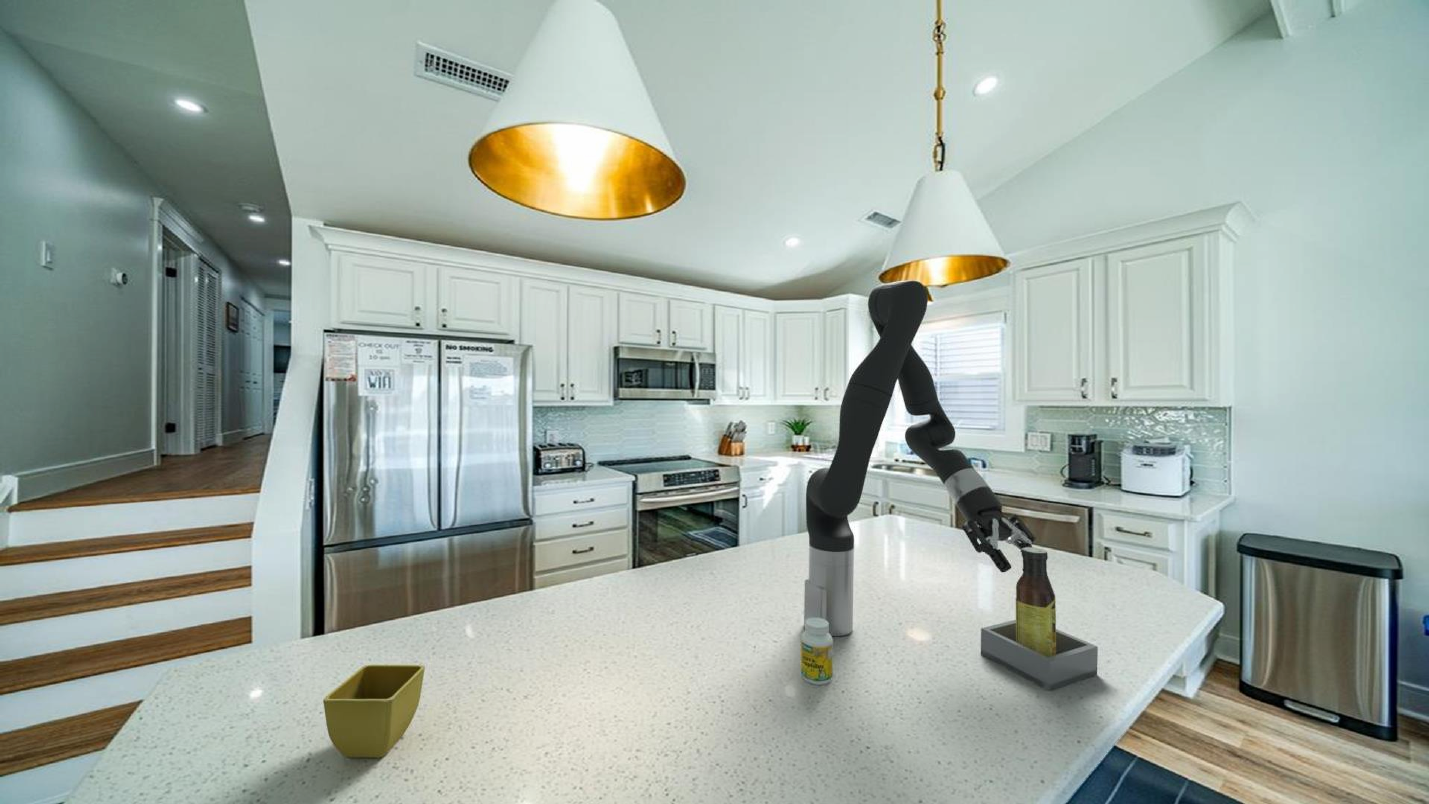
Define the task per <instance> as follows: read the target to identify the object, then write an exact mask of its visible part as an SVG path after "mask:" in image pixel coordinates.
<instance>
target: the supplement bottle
mask: <svg viewBox="0 0 1429 804" xmlns="http://www.w3.org/2000/svg"><path fill="white" fill-rule="evenodd" d="M804 629H805V630H804V631H803V632H802V634H801V637H800V641H801V642H800V643H801V645H800V646H801V649H800V655H801V656H800V674H801V675H800V676H801V677H802V679H803V680H804V681H806V682H807V683H809V684H812V685H816V686H817V685H818V686H819V685H820V686H823V685H827V684H829V683H830V682H832V680H833V677H834V676H833V673H834V671H833V670H834V667H833V666H834V665H833V661H834V660H833V659H834V658H833V656H834V655H833V652H834V640H833V636H831V635H830V634H829V633H828V631H829V623H828V621H826V620H824V619H822V618H808V619H807V620H806V621H805V624H804Z"/></svg>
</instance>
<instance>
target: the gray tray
mask: <svg viewBox="0 0 1429 804" xmlns="http://www.w3.org/2000/svg"><path fill="white" fill-rule="evenodd" d="M1098 649H1099V648H1098V645H1095V644H1092V643H1090V642H1088V641H1086V640H1083V639H1080V638H1078V637H1077V636H1073V635H1071V634H1069V633H1066V632H1065V631H1064V632H1063V631H1062V630H1059V629H1057V628H1056V654H1055V655H1054V656H1050V657H1046V656H1044V655H1042V654H1040V653H1038V652H1036V651H1034V650H1032V649H1029V648H1027V647H1025V646H1023V645H1021V644H1019V643H1017V642H1016V619H1013V620H1008V621H1005V622H1001V623H996V624H993V625H988V626H985V627H980V655H981V656H983V657H984V658H986V659H988V660H990V661H993V662H994V663H996V664H998V665H1000V666H1001V667H1003V668H1005V669H1007V670H1008V671H1011V672H1013V673H1015V674H1017V675H1018V676H1020V677H1022V678H1024V679H1026V680H1027V681H1030V682H1032V683H1033V684H1035V685H1037V686H1039V687H1041V688H1042V689H1045V690H1047V691H1049V692H1050V691H1053V690H1057V689H1059V688H1063V687H1065V686H1067V685H1070V684H1071V685H1072V684H1075V683H1077V682H1080V681H1083V680H1085V679H1088V678H1091V677H1094V676H1098V657H1099V656H1098V655H1099V654H1098V653H1099V652H1098Z"/></svg>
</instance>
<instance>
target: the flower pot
mask: <svg viewBox="0 0 1429 804" xmlns="http://www.w3.org/2000/svg"><path fill="white" fill-rule="evenodd" d="M425 668H426V665H424V664H423V665H421V664H366V665H363V666H362V667H361V668H359V669H358V670H356V671H355V673H353V674H352V675H351V676H349V678H347V679H346V680H344V681H343V682H342V683H341V684H340V685H338V686H337V687H336V688H334V689H333V690H332V691H331V692H330V693H328V694H327V695H326V696H325V697H324V698H323V700H322V701H323V703H322V704H323V710H324V715H325V716H324V717H325V722H326V730H327V733H328V734H327V735H328V736H329V737H328V738H329V739H330V741H331V743H332V745H333V747H335V749H336V750H337V751H338V752H339V753H340V754H342V756H343V757H346V758H384V757H385V756H387V754H388V753H389V752H390V750H392V748H393V747H394V746H395V745H396V743H398V741H399V740H400V739H401V738H402V737H403V736H404V735H405V733H406V731H407V729H408V728H409V726H410V724H411V723H412V720H413V719H414V716H415V714H416V712H417V709H418V707H419V703H420V699H421V693H422V688H423V681H424V675H425Z"/></svg>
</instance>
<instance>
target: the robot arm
mask: <svg viewBox="0 0 1429 804" xmlns="http://www.w3.org/2000/svg"><path fill="white" fill-rule="evenodd" d="M928 301H929V298H928V292H927V288H926V287H925V285H924V284H923V283H922V282H920V281H918V280H911V279H910V280H900V281H893V282H887V283H882V284H879V285H876V286H875V287H874V289H872V290H871V292H870V294H869V296H868V300H867V308H868V313H869V316H870V318H871V321H872V323H873V325H874V328H875V330H876V332H877V333H878V335H879V340H878V341H877V343H876V344H875V346H874V347H873V348H872V349H871V351H870V352H869V353H868V354H867V356H866V357H864V358H863V360H862V361H861V362H860V364H858V366H857V367H856V368H855V370H854V371H853V373H852V374H851V377H850V378H849V380H848V383H847V386H846V387H845V388H846V389H845V391H844V395H843V397H842V400H841V405H840V411H839V428H838V430H839V431H838V434H839V435H838V441H837V446H836V451H835V452H834V456H833V458H832V461H831V464H830V465H829V467H822V468H819V469H817V470H815V471H814V472H813V473H812V474H811V475H810V476H809V479H808V481H807V484H806V489H805V490H806V491H805V513H806V514H805V515H806V517H805V518H806V519H805V520H806V523H805V524H806V530H807V533H808V539H809V540H808V542H809V543H808V545H809V547H808V579H805V580H804V603H803V604H804V605H803V606H804V607H803V609H804V610H803V611H804V612H803V614H804V615H803V623H804V625H805V621H806V620H807V619H808V618H822V619H824V620H826V621H828V623H829V631H828V633H829V634H830V635H831V636H832V637H842V636H846V635H849V634H851V633H852V632H853V629H854V627H853V626H854V625H853V624H854V623H853V622H854V573H855V571H854V570H855V569H854V568H855V567H854V565H855V564H854V563H855V562H854V561H855V536H854V533H853V530H852V529H851V526H850V523H849V520H848V519H849V518H848V516H849V515H851V514H852V513H853V512H854V511H855V510H856V509H857V508H858V505H859V503H860V501H861V498H862V495H863V491H864V486H865V481H866V476H867V472H868V468H869V465H870V460H871V456H872V454H873V451H874V448H875V444H876V443H877V440H878V436H879V434H880V431H881V428H882V424H883V422H884V420H885V417H886V415H887V412H888V409H889V407H890V403H891V400H892V397H893V394H894V391H895V387H896V384H897V382H898V385H899V388H900V392H901V395H902V399H903V400H902V401H903V403H904V406H905V409H906V412H907V413H908V414H909V415H911V416H915V417H916V416H917V417H918V416H920V417H921V416H927V415H929V418H928V419H925V420H923V421H921V422H918V423H915V424H912V425H910V426H908V428H906V430H905V432H904V440H905V443H906V445H907V447H908V448H909V450H911V451H912V453H913V454H914V455H915V456H917V457H918V458H920V460H922V461H923V462H925V464H926V465H928V466H929V467H930V468H931V469H932V470H933V471H934V473H935V474H936V475H937V477H938V478H939V479H940V481H941V482H942V484H943V486H944V487H945V488H946V489H945V490H946V491H947V493H948V495H949V497H950V498H951V500H952V502H953V503H954V504H955V506H956V507H957V509H958V511H960V513H961V515H962V516H963V518H964V519H965V520H966V522H965V523H964V524H962V525H961V528H962V530H963V531H964V533H965V535H966V536H967V538H968V540H969V541H970V543H971V545H972V546H973V548H974V550H975V551H976V552H977V553H978V554H981V553H984V554H985V555H987V556H988V557H990V559H991V560H992V562H993V564H994V565H995V566H996V568H997V569H998V570H999V571H1000V572H1001V573H1006V572H1008V571H1009V570H1011V569H1012V565H1011V563H1010V561H1009V560H1008V559H1007V557H1006V555H1004V553H1003V551H1002V550H1001V549H1000V548H999V545H998V544H999V542H1005V543H1007V544H1009V545H1012V546H1014V547H1016V548H1018V549H1019V550H1020V553H1021V554H1022V548H1026V547H1033V546H1032V543H1034V542H1035V541H1036V540H1037V539H1036V537H1035V535H1034V534H1033V533H1032V531H1030V529H1029V528H1028V527H1027V526H1026V524H1025V523H1024V522H1023V521H1022V519H1021V518H1020V516H1019V515H1017V514H1015V513H1014V514H1013V515H1011V516H1010V517H1008V516H1006V515H1005V514H1004V513H1003V512H1002V511H1003V504H1002V502H1001V501H1000V499H999V498H998V497H997V494H995V493H994V491H993V490H992V489H991V487H990V486H989V484H988V482H986V480H985V479H984V477H982V475H981V474H980V473H978V471H977V470H976V469H975V468H974V466H973V465H972V463H971V462H970V461H969V459H968V458H967V457H966V455H965V454H964V453H963V452H962V450H959V449H956V448H954V449H945V450H944V449H943V448H944V447H947V446H949V445H951V444H953V443H954V441H955V438H956V429H955V427H954V425H953V423H952V422H951V420H950V419H949V417H948V416H947V414H946V412H945V411H944V409H943V407H942V405H941V403H940V400H939V398H938V395H937V391H936V390H937V389H936V385H935V381H934V379H933V375H932V373H931V370H930V369H929V367H928V366H927V364H926V362H924V360H923V358H922V357H921V356H920V355H919V353H918V352H917V351H916V349H915V348H914V346H913V345H912V344H913V341H914V339H915V337H916V335H917V333H918V330H919V329H920V327H921V324H922V322H923V319H924V318H925V315H926V311H927V307H928V304H929V303H928ZM1012 533H1013V534H1012ZM1023 533H1024V534H1025V535H1024V534H1023ZM978 540H979V542H980V543H979V542H978Z"/></svg>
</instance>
